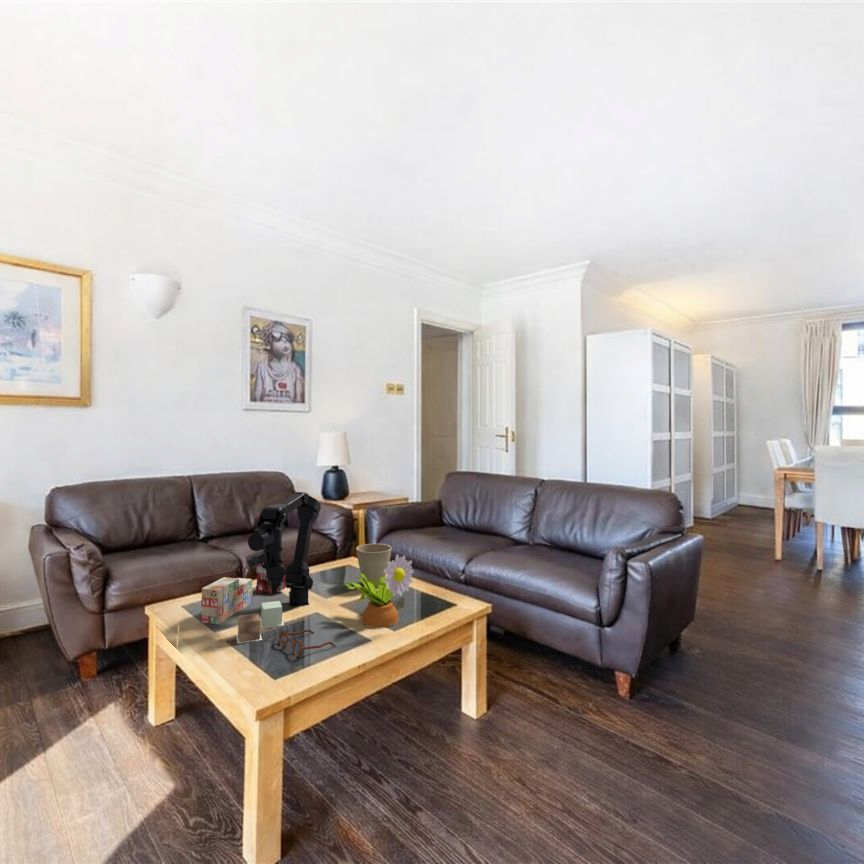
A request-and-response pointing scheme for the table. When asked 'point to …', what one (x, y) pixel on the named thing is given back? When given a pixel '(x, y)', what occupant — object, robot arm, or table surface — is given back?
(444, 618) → the table surface
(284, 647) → the glasses
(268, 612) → the sage block
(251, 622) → the walnut block
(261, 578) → the toy fire truck
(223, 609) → the stack of blocks
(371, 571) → the plant pot
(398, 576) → the decorative plant
